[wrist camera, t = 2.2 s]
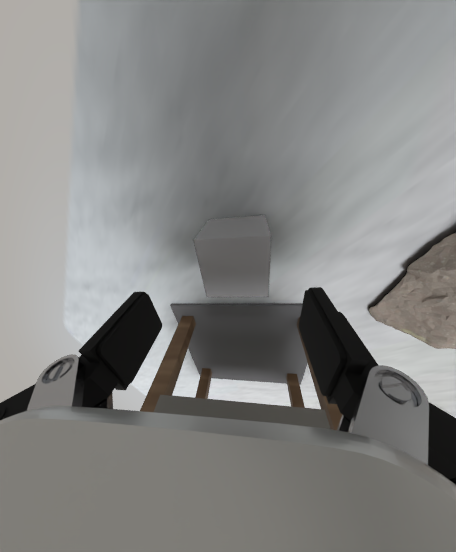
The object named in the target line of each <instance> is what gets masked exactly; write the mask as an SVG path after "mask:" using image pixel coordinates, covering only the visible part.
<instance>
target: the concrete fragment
mask: <svg viewBox="0 0 456 552" xmlns="http://www.w3.org/2000/svg"><path fill="white" fill-rule="evenodd" d="M407 271H408V272H407V274H406V276H405V277H403V278H402V280H401V281H400V283H399V284H397V285H396V287H395V288H394V289H393V290H392V291H390V292H389V293H388V294H387V295H386V296H385V297H384V298H383V299H382V300H381V301H380V302H379V303H378V304H377V305H375V306H374V307H371V308H370V309H369V312H370V314H371V316H373V317H374V318H375V320H376V321H379V322H382V323H384V324H386V325H388V326H391V327H393V328H395V329H397V330H400V331H402V332H404V333H407V334H410V335H412V336H413V337H415V338H417V339H419V340H421V341H423V342H425V343H427V344H428V345H430V346H432V347H434V348H438V349H440V348H452V349H456V233H454V234H451V235H450V236H448V237H446V238H444V239H443V240H442V241H441V242H439V243H438V244H436V245H433V246H432V248H431V249H430V250H429V251H428V252H427V253H426V254H425V255H423V256H422V257H420V258H419V259H418V260H416V261H415V262H413V263H412V264H410V265H409V267H408V269H407Z"/></svg>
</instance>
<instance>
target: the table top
mask: <svg viewBox="0 0 456 552" xmlns="http://www.w3.org/2000/svg"><path fill="white" fill-rule="evenodd" d="M302 305H303V304H171V305H170V306H171V308H172V310H173V313H174V315H175V317H176V320H177V322H178V325H179V322H180V320H181V318H182V316H194V319H195V322H196V325H195V328H194V331H193V334H192V337H191V340H190V343H189V346H188V348H189V351H190V353H191V355H192V358H193V360H194V362H195V365H196V367H197V370H198V372H199V374H200V376H201V372H202V368H209V369H211V371H212V376H211V378H218V379H232V380H246V381H260V382H274V383H287V379H286V377H287V373H289V374H297V377H298V381H299V384H301V381H302V378H303V375H304V372H305V369H306V366H307V363H308V362H307V359H306V355H305V352H304V348H303V345H302V342H301V338H300V335H299V332H298V328H297V322H298V318H299V317H300V315H301V310H302Z"/></svg>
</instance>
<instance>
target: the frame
mask: <svg viewBox="0 0 456 552" xmlns="http://www.w3.org/2000/svg"><path fill="white" fill-rule="evenodd" d="M299 321H300V317H299V318H298V322H297V328H298V332H299V335H300V338H301V342H302V345H303V348H304V352H305V355H306V359H307V362H308V365H309V369H310V372H311V376H312V379H313V382H314V386H315V389H316V393H317V396H318V399H319V403H320V406H321V409H322V410H325V412H326V416H327V419H328V422H329V425H330V429H331V430H337V428H338V426H339V423H340V420H341V417H342V414H341V413H340V411H339V408H338V406H337V404H328V401H327V398H326V396H323V395H322V394H321V392H320V389H319V386H318V383H317V380H316V377H315V374H314V371H313V368H312V365H311V362H310V359H309V357H308V354H307V351H306V348H305V345H304V342H303V339H302V336H301V333H300V330H299ZM195 325H196V322H195V319H194V316H182V318H181V320H180V322H179V325H178V327H177V329H176V331H175V333H174V336H173V338H172V340H171V342H170V345H169V347H168V349H167V351H166V354H165V356H164V358H163V360H162V363H161V365H160V367H159V369H158V372H157V374H156V376H155V378H154V381H153V383H152V385H151V387H150V390H149V392H148V394H147V396H146V399H145V401H144V403H143V405H142V408H141V410H140V411H142V412H154V409H155V407H156V404H157V402H158V399H159V397H160V395H170V396H172V393H173V390H174V387H175V384H176V381H177V379H178V376H179V373H180V370H181V367H182V364H183V361H184V358H185V355H186V352H187V349H188V346H189V343H190V340H191V337H192V334H193V331H194V328H195ZM211 376H212V371H211V369H209V368H202V372H201V376H200V380H199V385H198V389H197V393H196V398H202V399H207V398H208V393H209V387H210V381H211ZM286 379H287V385H288V391H289V396H290V402H291V407H300V408H305V407H304V403H303V399H302V394H301V390H300V385H299V381H298V377H297V374H289V373H287V377H286Z"/></svg>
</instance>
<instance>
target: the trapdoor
mask: <svg viewBox="0 0 456 552" xmlns="http://www.w3.org/2000/svg"><path fill="white" fill-rule="evenodd" d="M154 413H166V414H178V415H190V416H202V417H213V418H224V419H236V420H247V421H258V422H269V423H280V424H289V425H298V426H307V427H316V428H325V429H330V425H329V422H328V419H327V416H326V412H325V410H322V409H311V408H300V407H289V406H278V405H267V404H257V403H246V402H235V401H224V400H213V399H202V398H191V397H181V396H170V395H160V397H159V399H158V402H157V404H156V407H155V409H154Z"/></svg>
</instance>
